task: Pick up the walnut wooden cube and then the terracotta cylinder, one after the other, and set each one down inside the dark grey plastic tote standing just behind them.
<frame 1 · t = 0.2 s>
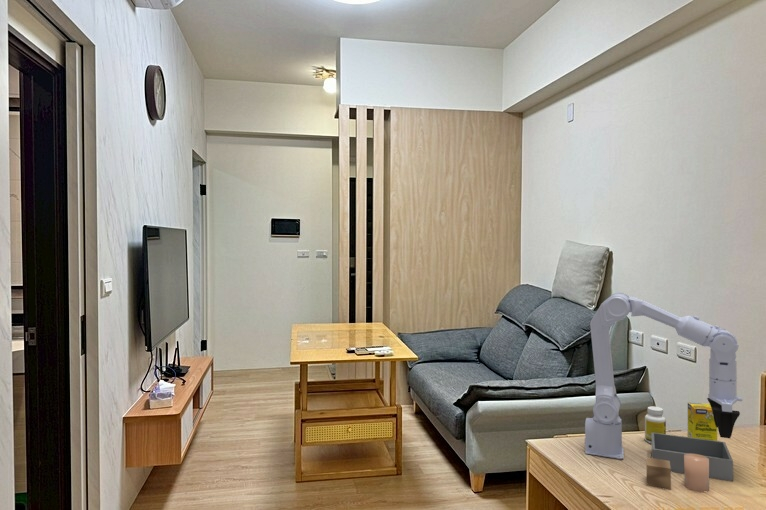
hand: (722, 432, 129), 10 cm above the table, tool pointing down, fingers open, 7 cm apart
terracotta cylinder: (696, 487, 121), on the table
supplement bottle: (655, 442, 150), on the table
tote: (689, 464, 134), on the table
supplement box: (702, 444, 148), on the table
walnut cube: (658, 483, 124), on the table
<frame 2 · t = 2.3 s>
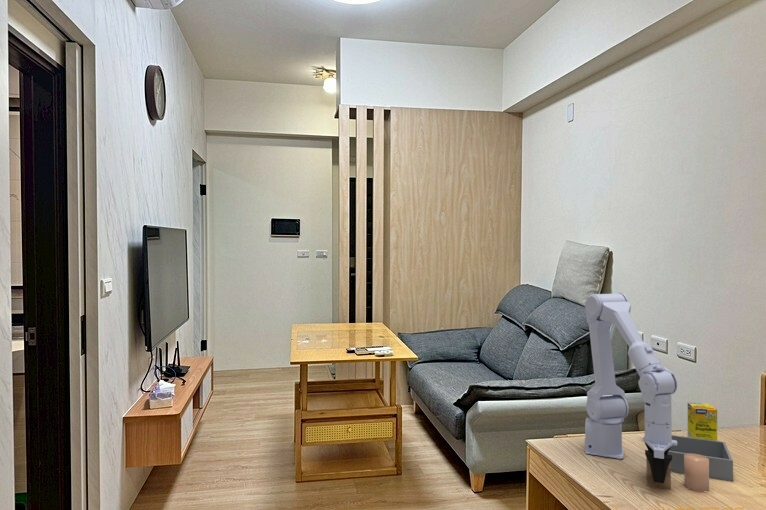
hand: (658, 477, 124), 1 cm above the table, tool pointing down, fingers closed on walnut cube, 5 cm apart
walnut cube: (658, 483, 124), on the table, touching gripper
everything else where it was.
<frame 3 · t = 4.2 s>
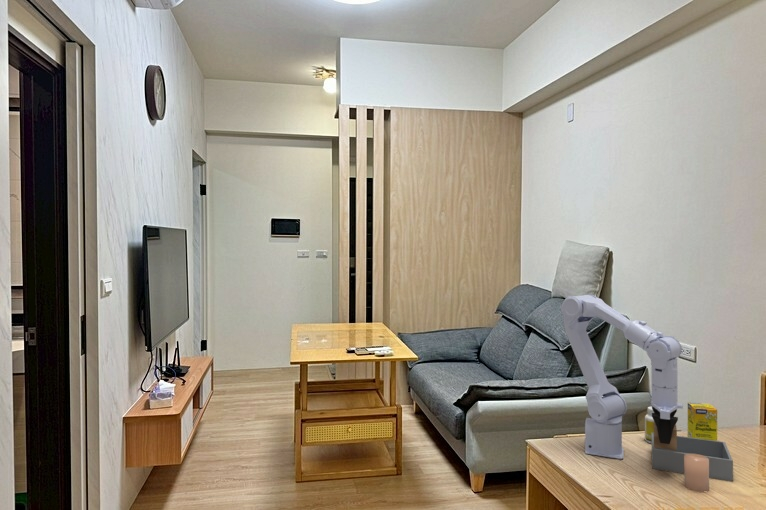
hand: (664, 439, 129), 8 cm above the table, tool pointing down, fingers closed on walnut cube, 5 cm apart
walnut cube: (664, 445, 129), point 7 cm above the table, touching gripper
everything else where it was.
when the fingers open (4 cm above the table, at t = 6.1 s): walnut cube drops 1 cm, resting on tote.
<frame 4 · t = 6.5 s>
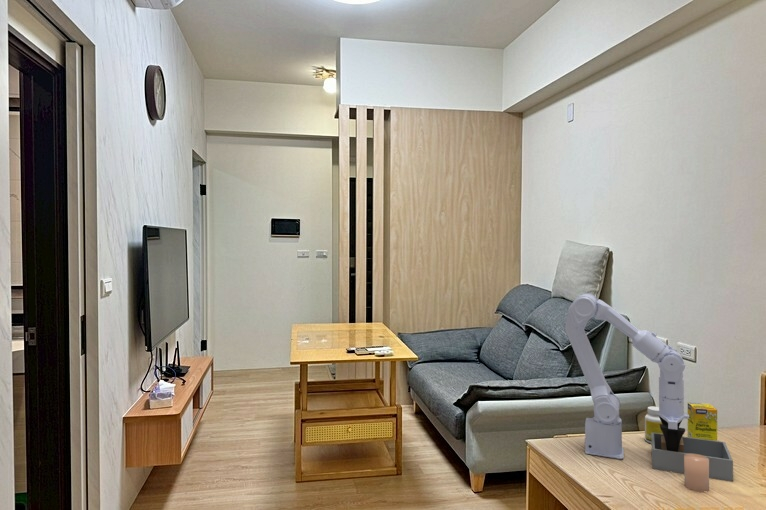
hand: (671, 448, 135), 4 cm above the table, tool pointing down, fingers open, 7 cm apart
walnut cube: (672, 459, 135), point 1 cm above the table, touching tote
everything else where it was.
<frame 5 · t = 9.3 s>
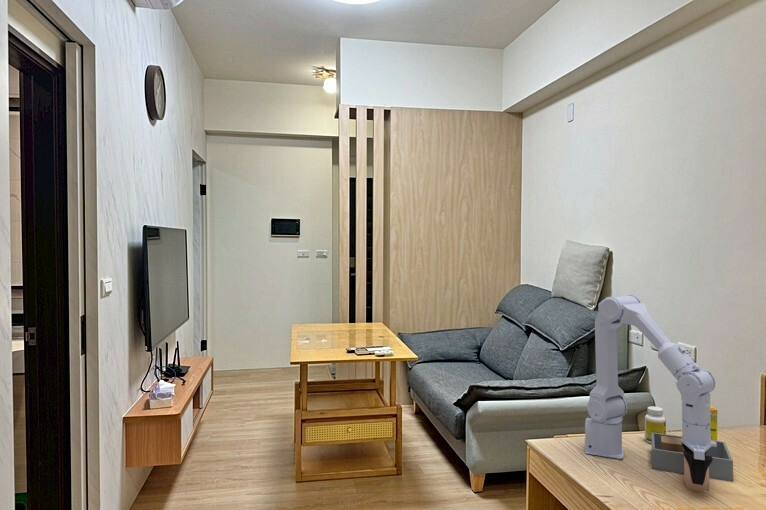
hand: (696, 478, 121), 2 cm above the table, tool pointing down, fingers closed on terracotta cylinder, 5 cm apart
terracotta cylinder: (696, 487, 121), on the table, touching gripper
everything else where it was.
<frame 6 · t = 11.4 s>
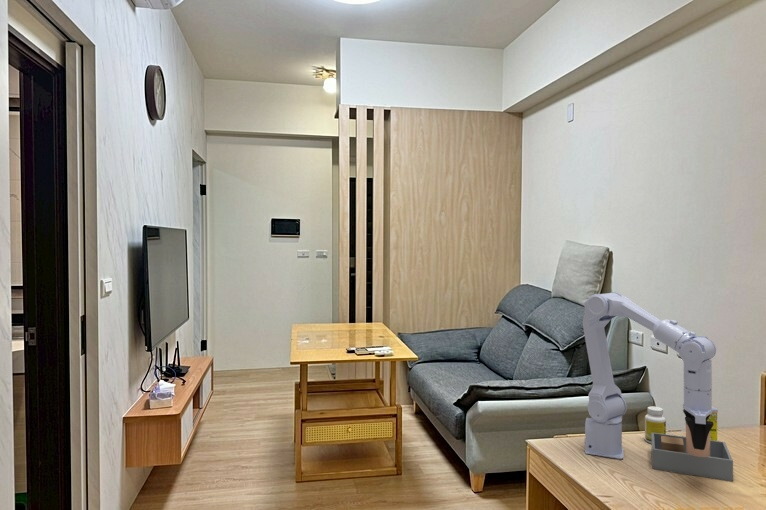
hand: (697, 444, 123), 9 cm above the table, tool pointing down, fingers closed on terracotta cylinder, 5 cm apart
terracotta cylinder: (697, 452, 123), point 7 cm above the table, touching gripper
everything else where it was.
when the fingers open (3 cm above the table, at t = 13.9 s): terracotta cylinder stays where it is, resting on tote.
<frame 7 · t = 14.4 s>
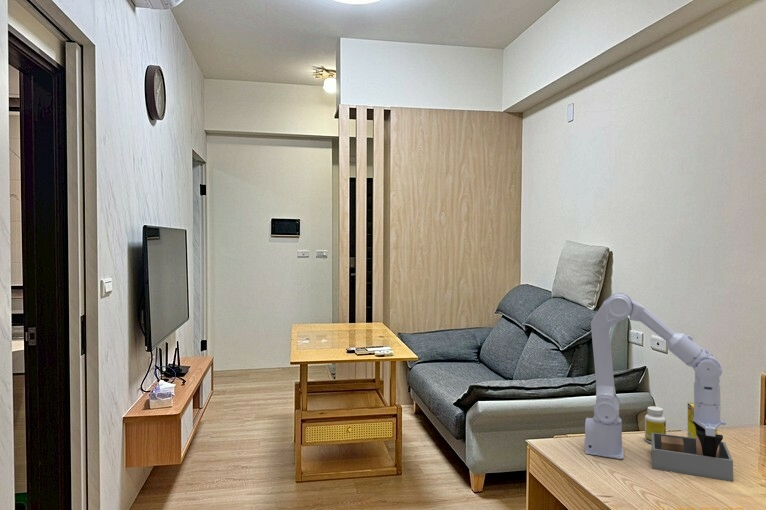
hand: (707, 454, 132), 3 cm above the table, tool pointing down, fingers open, 7 cm apart
terracotta cylinder: (707, 464, 132), point 1 cm above the table, touching tote
everything else where it was.
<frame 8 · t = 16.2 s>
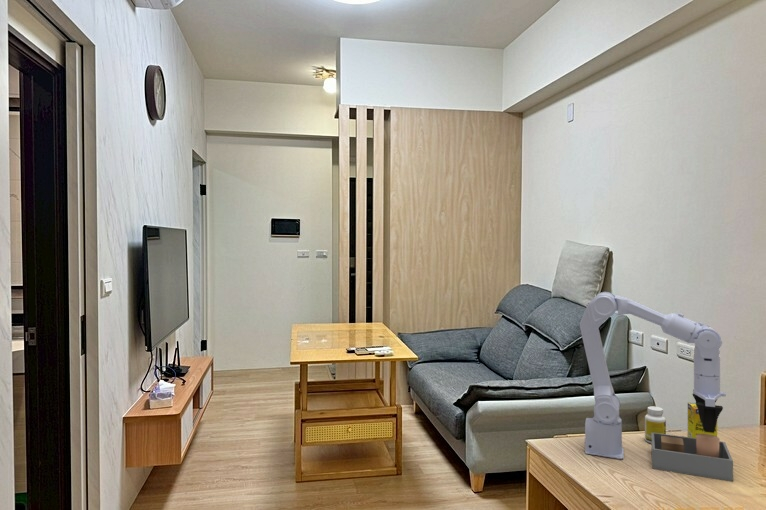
hand: (707, 427, 132), 10 cm above the table, tool pointing down, fingers open, 7 cm apart
nothing on the table moved.
at the end: walnut cube inside the target area on the tote (3.9 cm from its centre), point 0.8 cm above the tote's base; terracotta cylinder inside the target area on the tote (4.0 cm from its centre), point 0.8 cm above the tote's base; the gripper is holding nothing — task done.
